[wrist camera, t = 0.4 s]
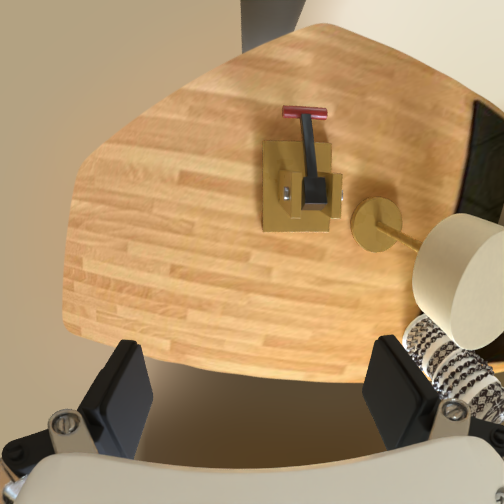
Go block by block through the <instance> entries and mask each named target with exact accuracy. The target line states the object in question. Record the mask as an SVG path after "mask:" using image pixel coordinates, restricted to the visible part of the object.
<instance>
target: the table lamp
mask: <svg viewBox="0 0 504 504" xmlns="http://www.w3.org/2000/svg"><path fill="white" fill-rule="evenodd" d="M401 230H402V216H401V213H400V211H399V209H398V207H397V206H396V205H395V204H394V203H393V202H392V201H390V200H388V199H386V198H382V197H371V198H368V199H366V200H364V201H363V202H361V203H360V204H359V205H358V206H357V208H356V209H355V211H354V213H353V216H352V220H351V231H352V235H353V238H354V239H355V241H356V242H357V243H358V245H360V246H361V247H362V248H363V249H365V250H367V251H369V252H374V253H377V252H383V251H385V250H387V249H389V248H390V247H392V246H393V245H394V244H395V243H396V241H399V242H401V243H402V244H404V245H406V246H407V247H409V248H411V249H413V250H414V251H416V252H418V255H417V257H416V261H415V264H414V269H413V276H412V287H413V293H414V298H415V300H416V303H417V304H418V306H419V308H420V309H421V310H422V311H423V312H424V313H425V314H426V315H427V316H428V317H429V318H430V319H431V320H432V321H433V322H434V323H435V324H436V325H437V326H438V327H439V328H440V329H441V330H442V331H444V332H445V333H446V334H447V335H448V336H449V337H450V338H451V339H452V340H453V341H454V343H455V344H456V345H458V346H459V347H460V348H462V349H466V350H475V349H479V348H481V347H484V346H485V345H487V344H489V343H490V342H492V341H493V340H494V339H496V338H497V337H498V336H499V335H500V334H501V333H502V332H503V331H504V227H503V226H501V225H498V224H495V223H492V222H490V221H487V220H484V219H481V218H478V217H475V216H472V215H469V214H454V215H451V216H449V217H447V218H445V219H443V220H442V221H441V222H439V223H438V224H437V225H436V226H435V227H434V228H433V229H432V230H431V232H430V233H429V234H428V235H427V237H426V239H425V240H424V242H423V243H422V242H420V241H418V240H416V239H414V238H412V237H410V236H408V235H406V234H404V233H402V232H401Z"/></svg>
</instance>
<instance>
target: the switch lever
mask: <svg viewBox="0 0 504 504" xmlns="http://www.w3.org/2000/svg"><path fill="white" fill-rule="evenodd" d="M282 116H283V118H300V124H301V133H302V143H303V154H304V165H305V177H303V179H302V196H301V210H320V211H321V210H322V209H323V208H324V207H325V206H326V205H327V193H326V182H325V177H318V174H317V163H316V154H315V145H314V136H313V128H312V120H311V119H319V120H326V119H327V109H326V108H318V107H304V106H283V108H282Z"/></svg>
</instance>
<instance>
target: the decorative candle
mask: <svg viewBox="0 0 504 504" xmlns="http://www.w3.org/2000/svg"><path fill="white" fill-rule="evenodd" d="M403 346H404V348H405V349H406V351H409V353H408V354H409V355H410V356H411V355H413V357H412V359H413V360H414V361H415V362H416V364H417V366H419V367H420V370H421V371H424V372H425V373H426V375H427V376H428V377H430V378H431V380H432V385H433V387H434V388H435V390H436V391H438V390H439V392H438V394H439V398H440V399H442V401H443V400H444V399H447V398H458V399H460V400H463V401H464V402H466V403H467V404H468V406H469V407H470V409H471V417H475V418H478V419H482V420H485V421H489V422H493V423H496V424H501V423H502V422H503V421H504V388H503V387H502V386H501V385H500V381H499V380H498V379H497V378H496V377H494V371H492V370H493V368H492V367H491V366H488V364H487V362H486V361H484V360H483V359H480V356H479V355H476V354H475V351H474V350H466V349H462V348H460V347H459V346H458V345H456V344H455V343H454V341H453V340H452V339H451V338H450V337H449V336H448V335H447V334H446V333H445V332H444V331H442V330H441V329H440V328H439V327H438V326H437V325H436V324H435V323H434V322H433V321H432V320H431V319H430V318H429V317H428V316H427V315H426V314H422V315H420V316H418V317H417V318H415V319H414V320H413V321H412V322H411V323H410V324H409V325H408V327H407V328H406V330H405V332H404V335H403ZM481 364H483V366H482V365H481ZM442 393H443V394H442Z"/></svg>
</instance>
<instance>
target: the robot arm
mask: <svg viewBox="0 0 504 504" xmlns="http://www.w3.org/2000/svg"><path fill="white" fill-rule="evenodd" d="M362 393H363V397H364V399H365V401H366V404H367V406H368V408H369V410H370V412H371V415H372V417H373V419H374V421H375V423H376V426H377V428H378V430H379V433H380V435H381V437H382V439H383V441H384V444H385V446H386V449H387V451H386V452H382V453H378V454H373V455H368V456H364V457H359V458H353V459H348V460H342V461H336V462H329V463H322V464H314V465H306V466H296V467H284V468H265V469H217V468H198V467H186V466H175V465H167V464H159V463H151V462H144V461H138V460H133V459H134V456H135V453H136V450H137V447H138V444H139V440H140V437H141V434H142V431H143V428H144V425H145V422H146V419H147V416H148V413H149V410H150V407H151V404H152V401H153V392H152V388H151V385H150V381H149V377H148V373H147V369H146V365H145V361H144V357H143V352H142V348H141V345H139V344H137V342H136V341H134V340H121V341H120V342H119V344H118V346H117V347H116V349H115V350H114V352H113V354H112V355H111V357H110V358H109V360H108V362H107V363H106V365H105V367H104V368H103V369H102V370H101V371H100V372H99V374H98V375H97V377H96V379H95V380H94V382H93V384H92V385H91V387H90V389H89V390H88V392H87V394H86V395H85V397H84V399H83V400H82V402H81V404H80V406H79V407H78V409H77V411H76V410H72V409H63V410H59V411H57V412H55V413H54V414H53V415H52V416H51V417H50V419H49V421H48V429H46V430H43V431H41V432H38V433H35V434H32V435H29V436H26V437H23V438H19V439H16V440H13V441H11V442H9V443H8V444H7V445H6V446H5V447H4V448H3V451H2V458H0V504H504V426H503V425H500V424H496V423H493V422H489V421H485V420H482V419H478V418H475V417H471V409H470V407H469V406H468V404H467V403H466V402H464V401H463V400H460V399H458V398H447V399H444V400H443V401H441V399H440V398H439V394H438V393H437V391H436V390H435V389H434V387H433V386H432V385H431V383H430V382H429V380H428V379H427V378H426V376H425V375H424V374H423V372H422V371H421V370H420V368H419V367H418V366H417V364H416V363H415V362H414V360H413V359H412V358H411V356H410V355H409V354H408V353H407V351H406V350H405V349H404V347H403V346H402V345H401V344H400V342H399V341H398V340H397V338H396V337H395V336H394V335H385V336H380V337H379V338H378V340H376V341H375V342H374V346H373V350H372V355H371V359H370V362H369V366H368V370H367V374H366V377H365V381H364V385H363V388H362Z"/></svg>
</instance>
